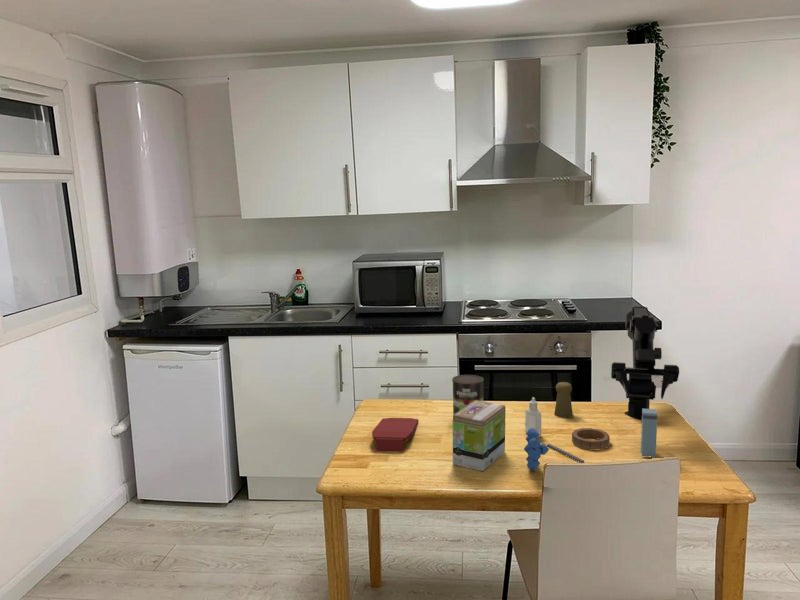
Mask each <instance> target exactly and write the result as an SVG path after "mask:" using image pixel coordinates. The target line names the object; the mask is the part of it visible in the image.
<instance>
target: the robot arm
mask: <svg viewBox="0 0 800 600" xmlns="http://www.w3.org/2000/svg"><path fill="white" fill-rule="evenodd" d="M625 330H627V337H628V338H629V339H630V340H631V341H632V367H631V366H630V367H629V366H626V362H616V361H614V362H612V363H611V369H610V370H611V371H610V375H611V376H610V378H611V379H613V380H615V382H619V384H620V385H621V386H622V388H623V390H624V392H625V397H626V399H628V405H627V411H625V412H624V414H625V415H627V416H630V417H633V418H635V419H638V420H642V409H650V402H651V401H653V400H655V399H656V391H657V386H656V384H655V382H654V381H653V378H652V377H653V376H657V377H658V376H661V377H662V382H661V389H660V391H661V392H660V399H661V400H663V399H664V396H665V393H666V390H667V388H668V387H669V385H673V384H674V383H676V382H678V380H679V375H680V367H679V366H678V365H677V364H664V365H663V368H655V366H656V360H662V355H663V353H662V351H663V350H662V347H654V340H655V336H656V333H657V332H658V331H659V330H660V325H659V324H658V323H657V320H656V319H655V317H654V316H653V315H652V314H651V313H649V308H648V307H646V306H638V305H637V306H636V305H635V306H632V307H631V311H629V312H628V313H627V314H626V315H625ZM650 400H651V401H650Z"/></svg>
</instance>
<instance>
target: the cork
mask: <svg viewBox="0 0 800 600" xmlns="http://www.w3.org/2000/svg"><path fill="white" fill-rule="evenodd" d="M555 390H556V392H557V393H556V400H555V406H554V407H555V408H554V416H555V417H557V418H562V419H564V418H565V419H566V418H567V419H568V418H571V417H573V416H574V414H573V407H572V406H573V405H572V399H571V392H572V390H573V387H572V384H571V383H570V382H566V381H561V382H557V384H556V385H555Z"/></svg>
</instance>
